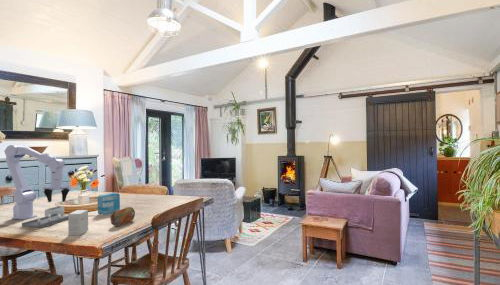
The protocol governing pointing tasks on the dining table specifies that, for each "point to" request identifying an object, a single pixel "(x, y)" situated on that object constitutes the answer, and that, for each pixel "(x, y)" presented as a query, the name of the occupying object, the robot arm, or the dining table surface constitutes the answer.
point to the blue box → (108, 203)
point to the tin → (122, 216)
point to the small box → (77, 222)
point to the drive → (54, 211)
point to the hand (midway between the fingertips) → (56, 201)
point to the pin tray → (45, 221)
